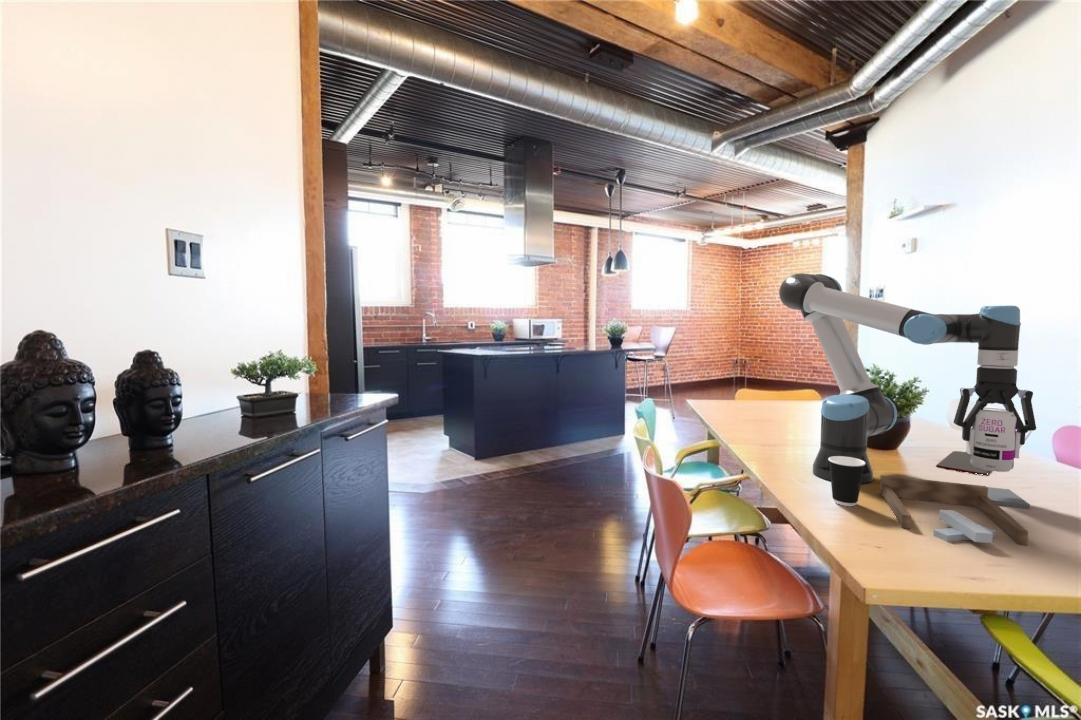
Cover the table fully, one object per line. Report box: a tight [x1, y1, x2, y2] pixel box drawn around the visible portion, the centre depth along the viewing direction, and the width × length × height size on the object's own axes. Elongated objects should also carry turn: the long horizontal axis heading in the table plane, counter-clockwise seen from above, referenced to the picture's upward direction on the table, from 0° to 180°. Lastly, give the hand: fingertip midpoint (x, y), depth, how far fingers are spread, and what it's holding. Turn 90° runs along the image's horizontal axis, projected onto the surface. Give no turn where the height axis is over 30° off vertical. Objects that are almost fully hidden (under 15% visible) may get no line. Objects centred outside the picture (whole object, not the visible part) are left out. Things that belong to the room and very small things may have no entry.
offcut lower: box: [933, 524, 997, 542], centre depth 105 cm, size 12×3×2 cm, turn 99°
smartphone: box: [935, 450, 991, 476], centre depth 157 cm, size 12×2×25 cm
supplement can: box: [970, 407, 1017, 473], centre depth 127 cm, size 8×8×15 cm
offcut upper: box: [939, 509, 994, 544], centre depth 105 cm, size 12×3×2 cm, turn 169°
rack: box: [879, 474, 1029, 546], centre depth 116 cm, size 22×24×5 cm
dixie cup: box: [828, 456, 866, 507], centre depth 124 cm, size 8×8×11 cm
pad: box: [986, 486, 1031, 509], centre depth 128 cm, size 12×12×1 cm
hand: (991, 455), depth 127 cm, fingers closed on supplement can, 8 cm apart
